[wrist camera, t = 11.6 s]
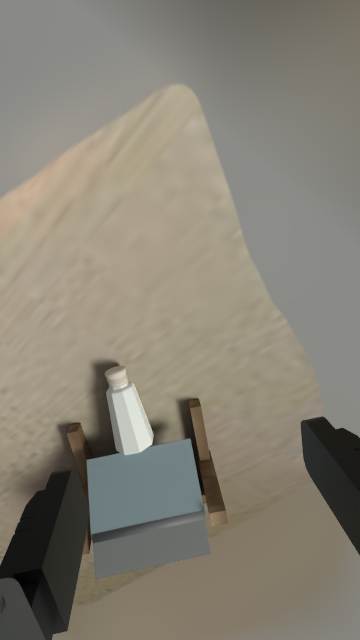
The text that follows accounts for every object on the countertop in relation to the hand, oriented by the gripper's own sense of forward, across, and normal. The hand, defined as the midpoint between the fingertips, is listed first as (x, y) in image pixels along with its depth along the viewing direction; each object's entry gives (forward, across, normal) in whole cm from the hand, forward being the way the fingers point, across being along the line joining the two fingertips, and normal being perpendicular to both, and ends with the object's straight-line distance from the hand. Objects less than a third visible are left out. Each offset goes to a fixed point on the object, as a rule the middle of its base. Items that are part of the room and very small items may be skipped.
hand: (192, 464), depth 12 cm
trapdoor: (+29, +7, +29) cm, 42 cm away
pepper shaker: (+30, +8, +20) cm, 37 cm away
